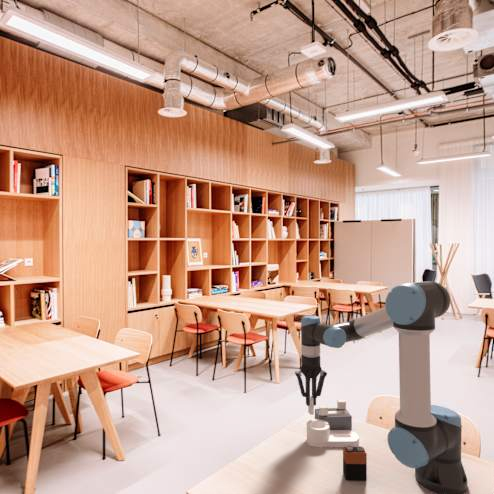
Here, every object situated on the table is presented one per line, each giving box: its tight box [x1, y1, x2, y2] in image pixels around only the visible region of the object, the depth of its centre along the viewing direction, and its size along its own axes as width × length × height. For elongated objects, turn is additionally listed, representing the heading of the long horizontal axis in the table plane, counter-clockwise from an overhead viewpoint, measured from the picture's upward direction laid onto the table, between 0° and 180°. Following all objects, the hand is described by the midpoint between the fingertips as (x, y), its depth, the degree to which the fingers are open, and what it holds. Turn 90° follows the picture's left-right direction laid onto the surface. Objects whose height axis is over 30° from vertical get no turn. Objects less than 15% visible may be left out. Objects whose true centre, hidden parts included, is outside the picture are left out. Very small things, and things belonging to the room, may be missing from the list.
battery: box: [342, 445, 368, 482], centre depth 127 cm, size 4×7×10 cm, turn 88°
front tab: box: [318, 405, 329, 416], centre depth 156 cm, size 2×3×3 cm, turn 95°
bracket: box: [306, 418, 360, 448], centre depth 150 cm, size 20×9×7 cm, turn 90°
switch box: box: [314, 407, 353, 431], centre depth 159 cm, size 8×13×7 cm, turn 94°
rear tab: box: [336, 399, 347, 410], centre depth 161 cm, size 2×3×3 cm, turn 95°
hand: (310, 413), depth 155 cm, fingers closed
